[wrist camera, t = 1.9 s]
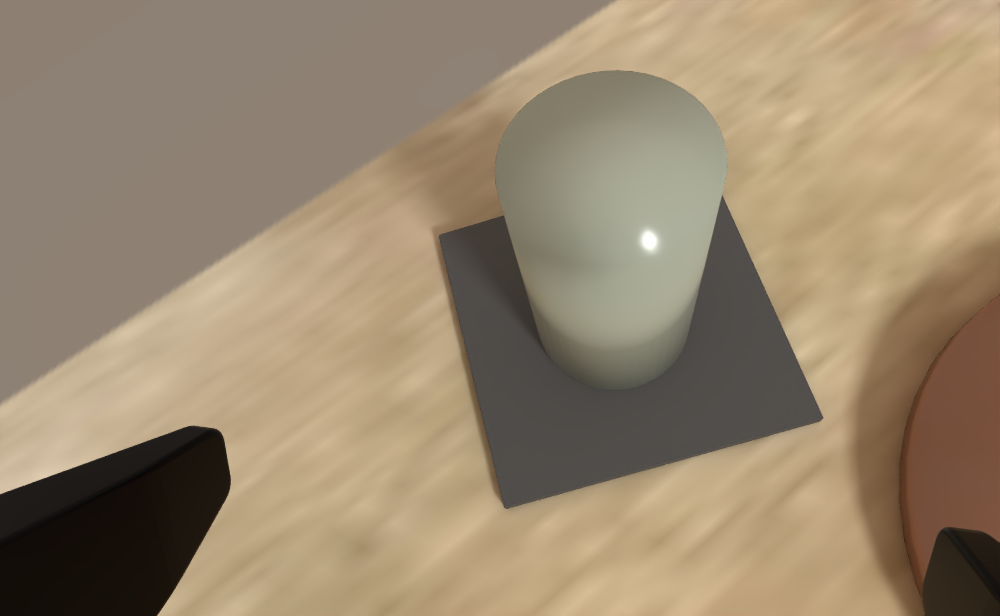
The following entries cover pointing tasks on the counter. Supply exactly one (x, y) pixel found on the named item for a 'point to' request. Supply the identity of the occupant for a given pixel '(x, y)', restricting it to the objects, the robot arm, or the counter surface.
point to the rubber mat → (629, 412)
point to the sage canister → (612, 219)
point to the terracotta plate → (954, 442)
